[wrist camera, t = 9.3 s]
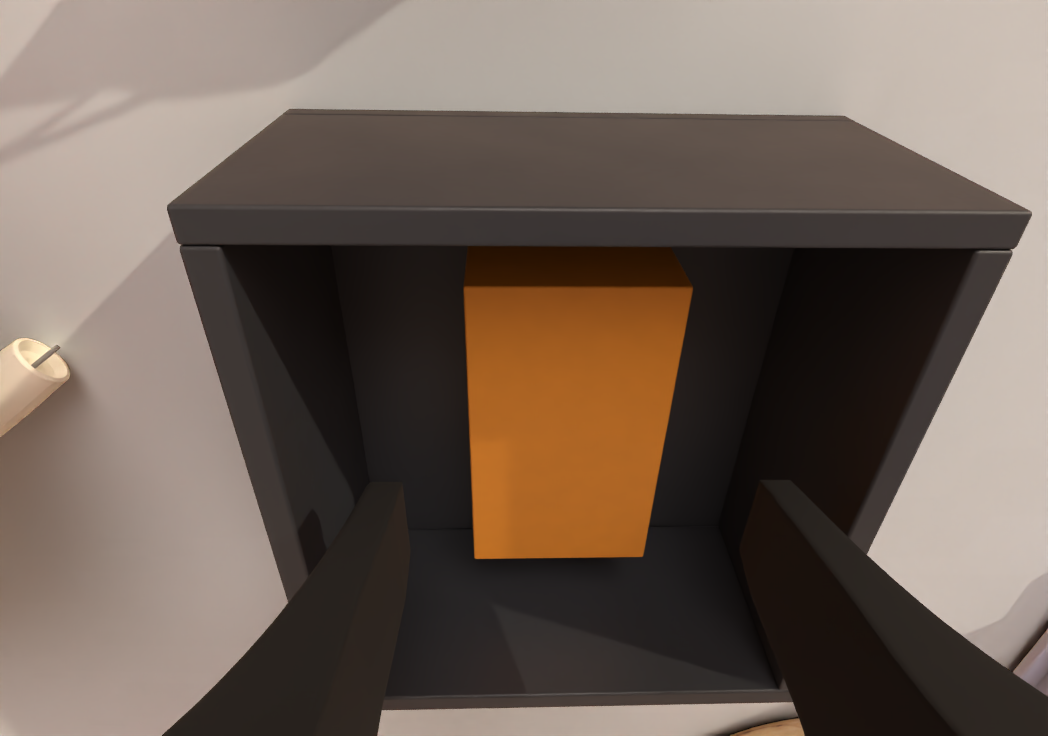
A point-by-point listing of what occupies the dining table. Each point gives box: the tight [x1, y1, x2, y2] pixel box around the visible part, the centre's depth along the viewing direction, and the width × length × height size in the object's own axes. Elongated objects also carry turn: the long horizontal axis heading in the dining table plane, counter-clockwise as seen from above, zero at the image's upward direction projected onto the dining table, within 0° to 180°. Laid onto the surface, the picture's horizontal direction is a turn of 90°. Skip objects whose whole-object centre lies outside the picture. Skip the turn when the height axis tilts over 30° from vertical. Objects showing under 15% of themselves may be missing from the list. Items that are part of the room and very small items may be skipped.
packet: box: [463, 246, 693, 559], centre depth 16 cm, size 4×8×3 cm, turn 179°
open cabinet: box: [167, 109, 1032, 710], centre depth 15 cm, size 13×12×6 cm
